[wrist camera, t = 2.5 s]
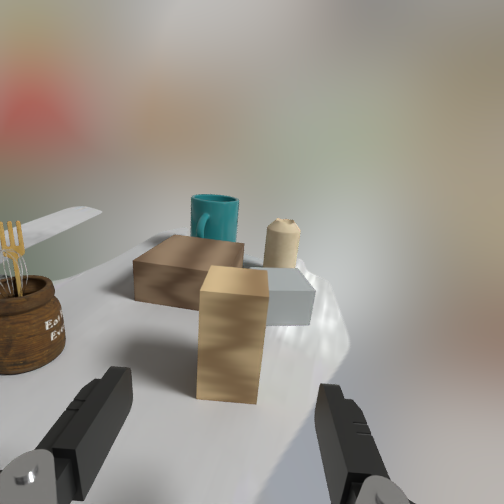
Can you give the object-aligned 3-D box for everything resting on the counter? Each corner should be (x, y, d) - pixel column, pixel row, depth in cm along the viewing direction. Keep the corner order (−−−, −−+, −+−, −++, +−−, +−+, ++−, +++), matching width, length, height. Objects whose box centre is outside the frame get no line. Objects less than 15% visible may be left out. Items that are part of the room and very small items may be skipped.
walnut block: (134, 302, 38) (132, 260, 36) (174, 267, 50) (174, 234, 48) (223, 316, 36) (225, 273, 34) (241, 276, 49) (244, 243, 47)
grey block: (254, 327, 34) (258, 290, 33) (246, 299, 41) (249, 267, 39) (309, 326, 36) (315, 290, 34) (293, 299, 42) (297, 268, 41)
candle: (278, 285, 46) (286, 225, 43) (255, 273, 50) (261, 217, 47) (300, 278, 50) (308, 222, 46) (277, 267, 53) (283, 215, 50)
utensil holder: (-18, 387, 23) (-57, 245, 19) (-8, 343, 28) (-38, 222, 24) (69, 363, 26) (51, 237, 22) (64, 327, 31) (49, 219, 27)
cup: (174, 261, 52) (174, 199, 48) (200, 244, 63) (202, 192, 59) (222, 270, 50) (225, 206, 46) (240, 250, 61) (244, 197, 57)
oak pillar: (196, 399, 24) (199, 290, 20) (206, 358, 28) (211, 265, 25) (256, 404, 24) (269, 296, 20) (256, 362, 28) (267, 270, 25)
